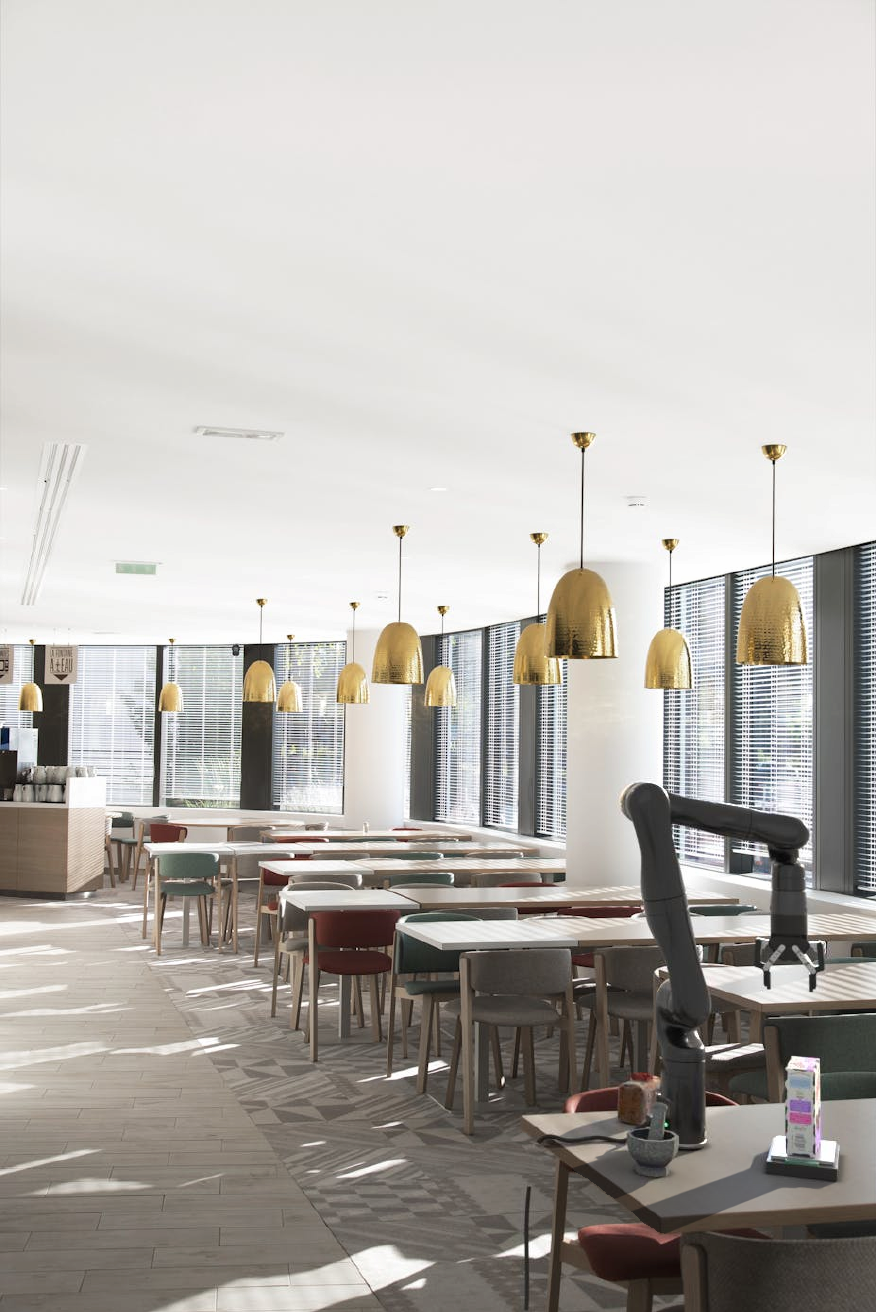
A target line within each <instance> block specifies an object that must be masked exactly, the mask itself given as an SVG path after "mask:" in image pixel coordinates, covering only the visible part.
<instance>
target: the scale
mask: <svg viewBox="0 0 876 1312" xmlns="http://www.w3.org/2000/svg"><path fill="white" fill-rule="evenodd" d="M840 1158H841V1145H840V1144H837V1142H836V1141H833V1140H832V1141H831V1140H823V1139H821V1142H820V1145H819V1148H818V1152H817V1155H816V1158H811V1157H804V1156H796V1155H790V1154H786V1149H785V1136H784V1135H783V1136H782V1135H776V1137H773V1138H772V1140H771V1143H770V1147H769V1151H768V1155H767V1158H766V1162H765V1166H766V1167H765V1173H766V1174H769V1175H778V1176H779V1175H780V1176H787V1177H796V1178H805V1179H814V1180H823V1181H831V1182H832V1181H833V1182H838V1181H839V1180H838V1179H839V1169H840V1168H839V1167H840Z"/></svg>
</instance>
